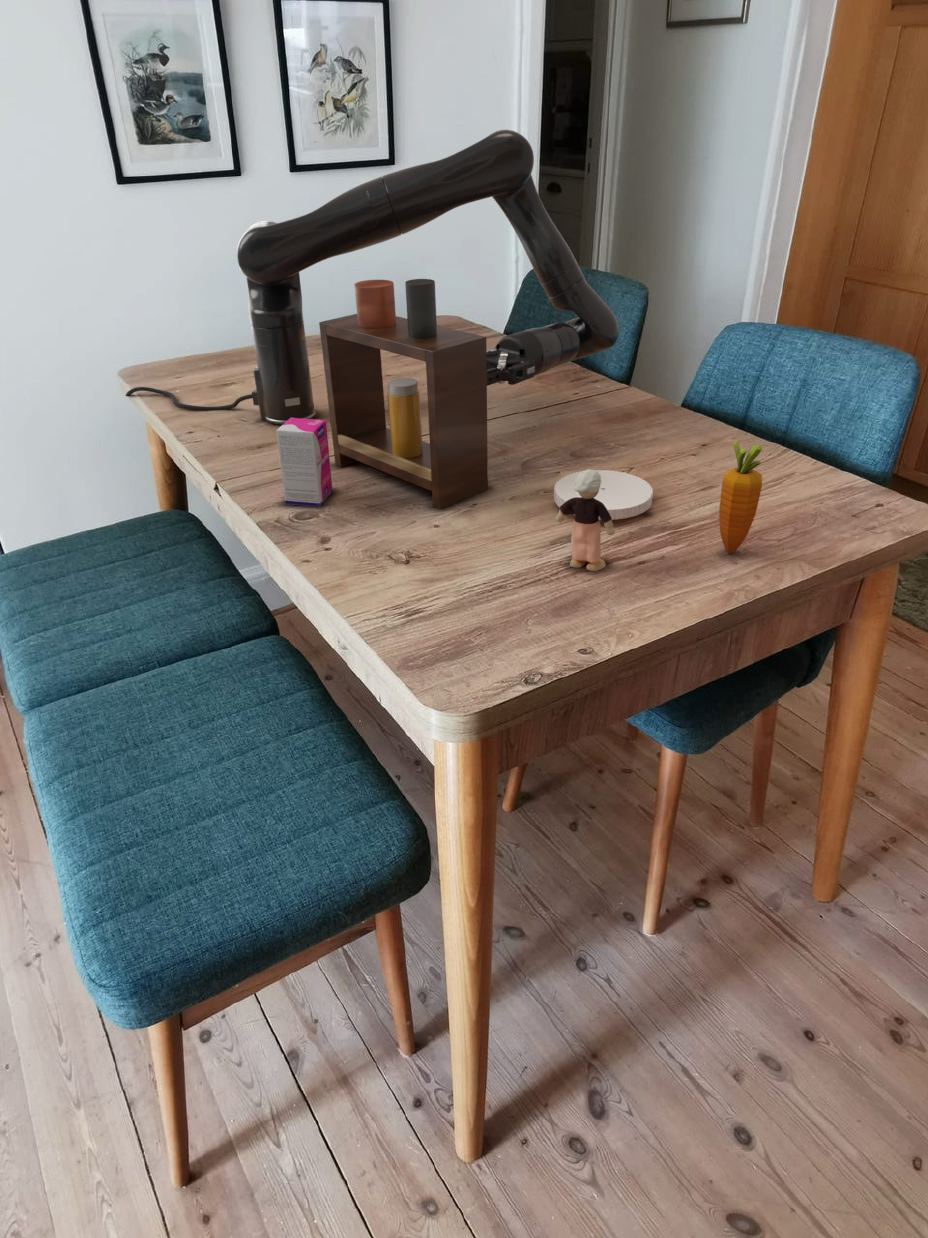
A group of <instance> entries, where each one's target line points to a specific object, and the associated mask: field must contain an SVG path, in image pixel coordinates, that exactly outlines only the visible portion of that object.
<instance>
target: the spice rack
mask: <svg viewBox="0 0 928 1238" xmlns="http://www.w3.org/2000/svg"><path fill="white" fill-rule="evenodd" d="M404 285H405V301H406V318H405V317H402V316H397V314H396V298H395V283H394V281H392V280H388V279H367V280H360V281H357V282H355V283H354V294H355V295H354V296H355V306H356V307H355V308H356V313H354V314H349V315H345V316H340V317H336V318H332V319H328V320H323V321H319V322H318V324H319V335H320V343H321V351H322V361H323V367H324V369H323V370H324V376H325V377H324V378H325V386H326V394H327V395H326V396H327V402H328V403H327V404H328V413H329V421H330V428H331V429H330V430H331V438H332V449H333V456H334V465H335V466H337V467H339V468H343V467H345V466H349V465H351V464H354V463H356V462H360V463H362V464H365V465H368V466H369V467H372V468H374V469H377V470H380V471H382V472H384V473H386V474H389V475H392V476H393V477H396V478H399V479H402V480H404V481H407V482H409V483H411V484H414V485H416V486H419V487H421V488H424V489H426V490H429V491H431V495H432V496H431V497H432V498H431V499H432V507H433V508H436V509H438V510H443V509H445V508H446V507H449V506H452V505H453V504H455V503H458V502H461V501H462V500H465V499H467V498H470V497H472V496H474V495H477V494H479V493H481V492H484V491H486V490H488V489H489V476H488V475H489V471H488V470H489V469H488V468H489V465H488V463H489V460H488V386H487V349H488V348H487V336H485V335H480V334H475V333H472V332H467V331H462V330H458V329H453V328H449V327H445V326H441V325H438V323H437V299H436V298H437V297H436V281H435V280H434V279H430V278H414V279H409V280H406V281H405V282H404ZM381 350H382V351H385V352H388V353H393V354H396V355H399V356H404V357H407V358H411V359H414V360H418V361H422V362H425V373H426V392H427V393H426V395H427V413H428V433H429V434H428V435H429V436H428V437H429V442H427V441H424V440H422V448H423V452H422V454H421V455H419V456H416V457H412V458H401V457H398V456H396V455H393V454H392V449H391V435H390V428H388V427H387V420H386V419H387V417H386V406H385V393H384V392H385V391H384V379H383V368H382V367H383V366H382V356H381V355H382V354H381Z"/></svg>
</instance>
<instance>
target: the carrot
mask: <svg viewBox="0 0 928 1238" xmlns="http://www.w3.org/2000/svg"><path fill="white" fill-rule="evenodd" d="M732 447H733V449H734V454H735V458H736V462H737V465H736V467H733V468H729V469H726V471H724V474H723V477H722V482H721V483H722V484H721V490H720V499H719V509H718V513H719V514H718V517H719V520H718V521H719V534H720V538H721V542H722V544H723V547H724V549H725V551H726V552H727V553H728V554H729V555H731V554H733V553H736V551H737V550H738V549H739V548H740V547H741V545H742V544H743V543H744V541H745V539H746V538H747V536H748V534H749V532H750V531H751V527H752V524H753V522H754V520H755V517H756V513H757V509H758V506H759V501H760V497H761V491H762V488H763V487H762V486H763V475H762V474H761V473H760V472H759V471H757V470H755V468H757V467H758V466H760V465H761V464H762V462H761V461H760V460H756V458H757V457H758V455H760V453H761V452H762V450H763V447H762V446H761V445H760V444H755V445H753V446H752V447H751V448H750V449H749V450H748V453H747V449H746V448H741V446H740V444H739V441H734V442H732Z"/></svg>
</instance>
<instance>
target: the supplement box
mask: <svg viewBox="0 0 928 1238" xmlns="http://www.w3.org/2000/svg"><path fill="white" fill-rule="evenodd" d="M327 428H328V427H327V420H326V419H315V418H312V419H301V418H290V419H289V420H288V421H287V422H285V423H284V424H283V425H281V426H279V427H278V428H277V429H276V430H275V433H276V442H277V449H278V457H279V458H278V459H279V466H280V474H281V481H282V489H283V497H284V504H285V505H291V506H307V507H321V506H322V504H323V503H324V502H325V500H326V499H327V498H328V497H329V496H330V495H331V494H332V493H333V482H332V471H331V461H330V460H331V459H330V447H329V438H328V429H327Z"/></svg>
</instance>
